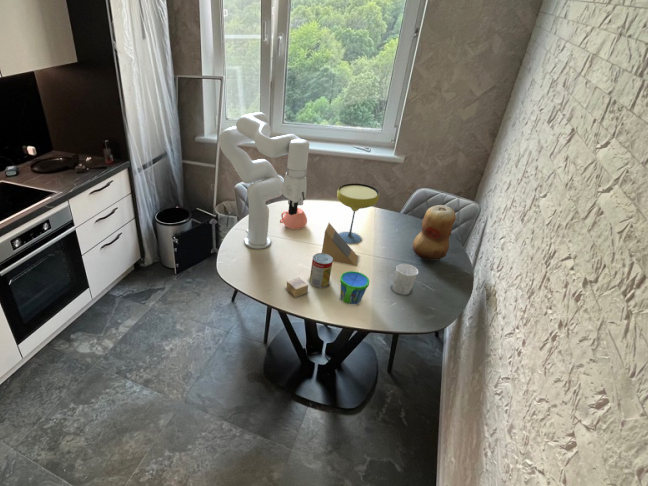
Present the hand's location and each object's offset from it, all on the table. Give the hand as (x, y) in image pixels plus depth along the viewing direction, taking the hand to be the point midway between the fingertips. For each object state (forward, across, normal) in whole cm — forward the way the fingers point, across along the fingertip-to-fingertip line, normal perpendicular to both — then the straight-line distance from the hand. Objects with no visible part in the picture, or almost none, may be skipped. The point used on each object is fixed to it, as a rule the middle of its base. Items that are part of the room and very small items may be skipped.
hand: (292, 213), depth 167 cm
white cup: (+25, +38, +28) cm, 54 cm away
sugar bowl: (+25, -27, +23) cm, 44 cm away
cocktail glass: (+25, -3, +39) cm, 47 cm away
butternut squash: (+25, +27, +56) cm, 67 cm away
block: (+25, +18, -9) cm, 32 cm away
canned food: (+25, +18, +3) cm, 31 cm away
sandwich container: (+25, +8, +23) cm, 35 cm away
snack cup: (+25, +33, +6) cm, 42 cm away
